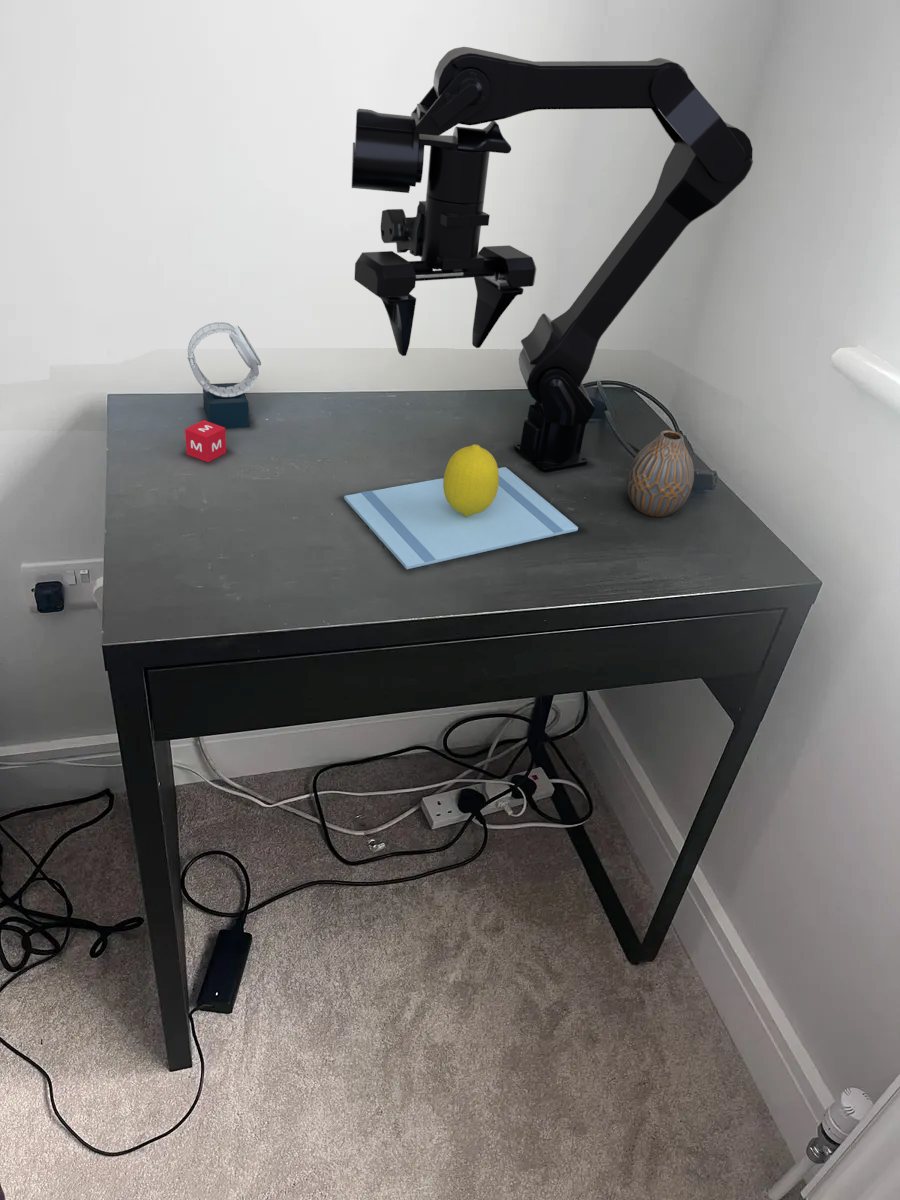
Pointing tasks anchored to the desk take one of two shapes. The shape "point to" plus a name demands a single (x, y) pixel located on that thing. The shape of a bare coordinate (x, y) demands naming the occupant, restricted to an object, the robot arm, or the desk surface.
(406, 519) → the cloth
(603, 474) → the desk surface
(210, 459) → the red letter cube
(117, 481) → the desk surface
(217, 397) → the watch
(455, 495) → the lemon
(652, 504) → the vase
